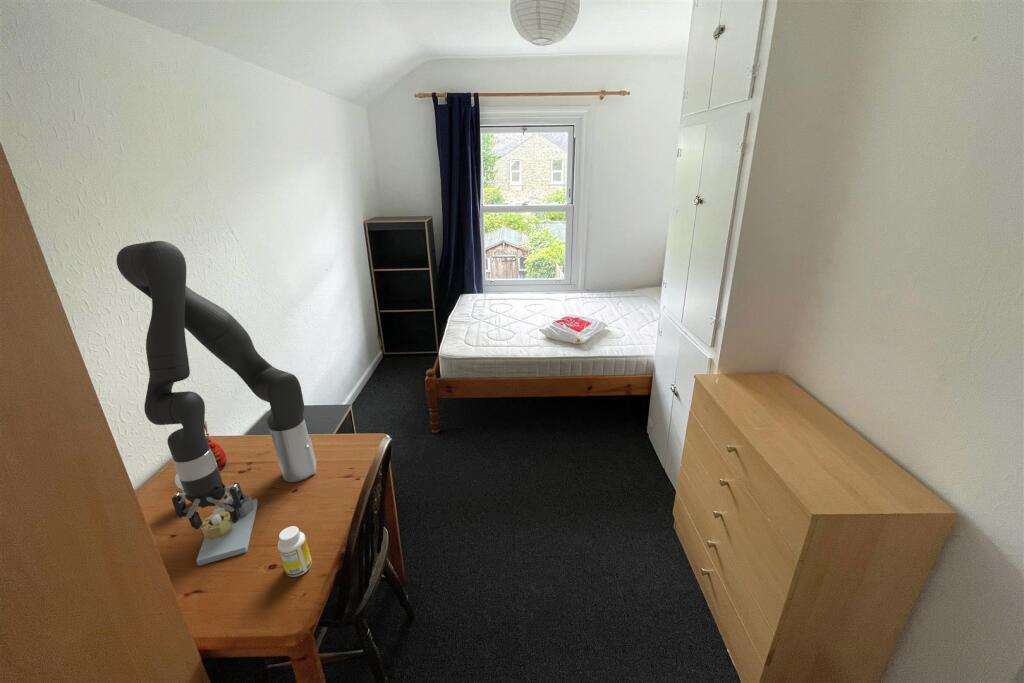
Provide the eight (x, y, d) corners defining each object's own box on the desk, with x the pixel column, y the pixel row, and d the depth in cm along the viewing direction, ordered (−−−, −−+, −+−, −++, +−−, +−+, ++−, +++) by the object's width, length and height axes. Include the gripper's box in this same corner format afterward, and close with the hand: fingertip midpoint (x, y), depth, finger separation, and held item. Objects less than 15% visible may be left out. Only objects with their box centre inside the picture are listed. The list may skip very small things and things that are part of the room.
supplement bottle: (305, 553, 104) (295, 519, 100) (316, 565, 100) (307, 530, 97) (281, 569, 100) (270, 534, 96) (292, 582, 96) (281, 546, 93)
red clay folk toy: (195, 475, 134) (179, 432, 128) (210, 460, 140) (196, 419, 135) (219, 474, 133) (205, 431, 128) (234, 460, 140) (220, 419, 135)
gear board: (257, 503, 121) (252, 486, 119) (246, 551, 105) (240, 534, 103) (215, 514, 117) (209, 497, 115) (198, 565, 102) (190, 547, 100)
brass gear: (235, 518, 114) (232, 508, 113) (230, 534, 108) (227, 525, 107) (209, 524, 112) (205, 515, 111) (202, 542, 106) (198, 532, 105)
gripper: (236, 455, 108) (253, 508, 114) (172, 464, 106) (193, 518, 112) (224, 474, 101) (243, 529, 107) (155, 484, 99) (178, 540, 105)
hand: (217, 523), depth 109 cm, fingers open, 8 cm apart
